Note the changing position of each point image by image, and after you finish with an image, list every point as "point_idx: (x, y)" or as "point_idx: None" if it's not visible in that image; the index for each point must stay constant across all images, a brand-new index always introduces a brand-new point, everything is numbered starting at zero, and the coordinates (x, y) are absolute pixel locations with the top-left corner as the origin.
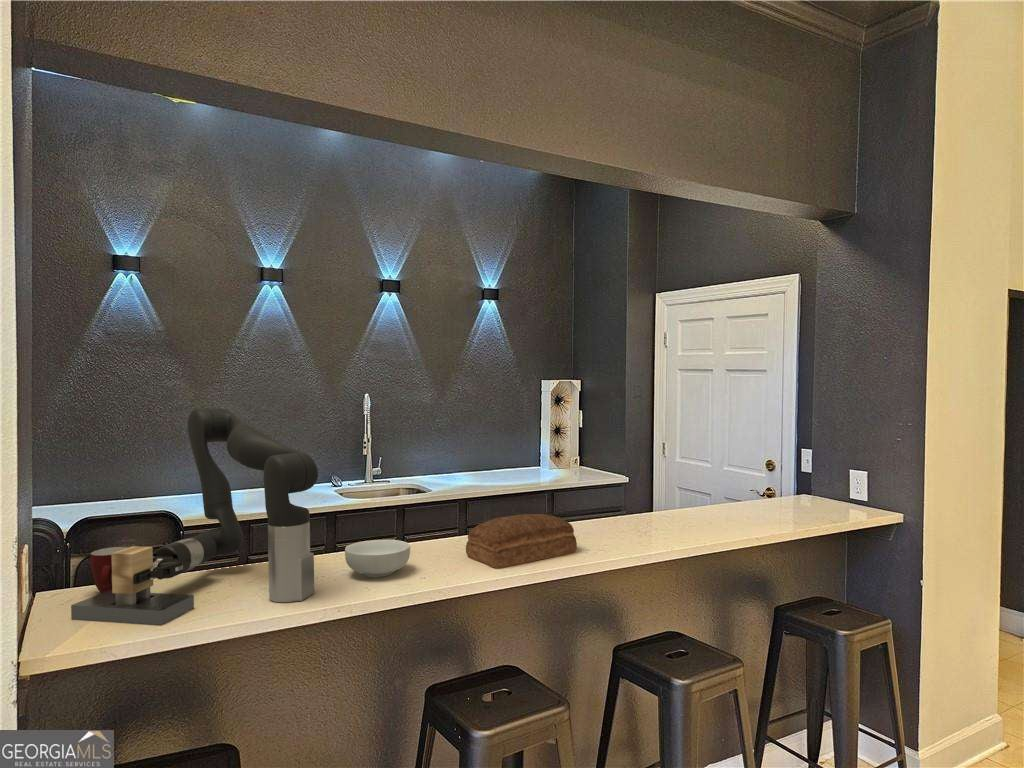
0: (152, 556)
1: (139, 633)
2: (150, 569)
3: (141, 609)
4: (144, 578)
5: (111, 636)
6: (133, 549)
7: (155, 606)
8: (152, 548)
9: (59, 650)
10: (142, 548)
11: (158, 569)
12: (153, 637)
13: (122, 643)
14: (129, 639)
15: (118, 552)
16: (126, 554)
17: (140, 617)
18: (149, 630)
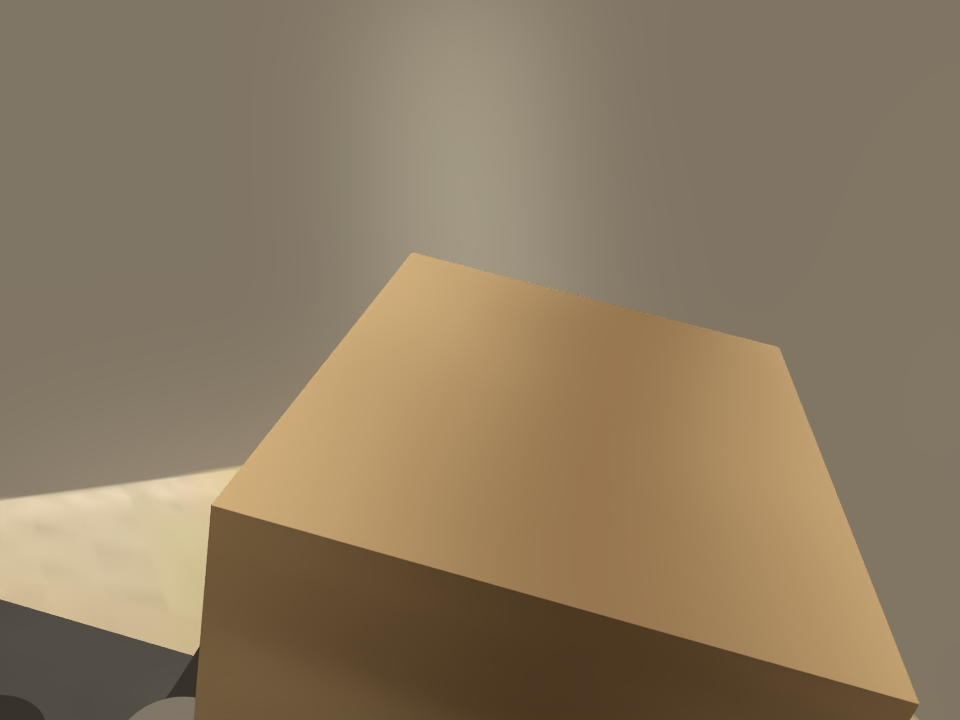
0: (198, 707)
1: (136, 578)
2: (181, 704)
3: (177, 653)
4: None
5: None
6: (595, 431)
7: (46, 707)
8: (209, 538)
9: None
10: (436, 453)
11: (23, 715)
12: (23, 508)
13: (200, 477)
14: (176, 512)
15: (715, 357)
16: (505, 283)
17: None
18: (71, 612)
